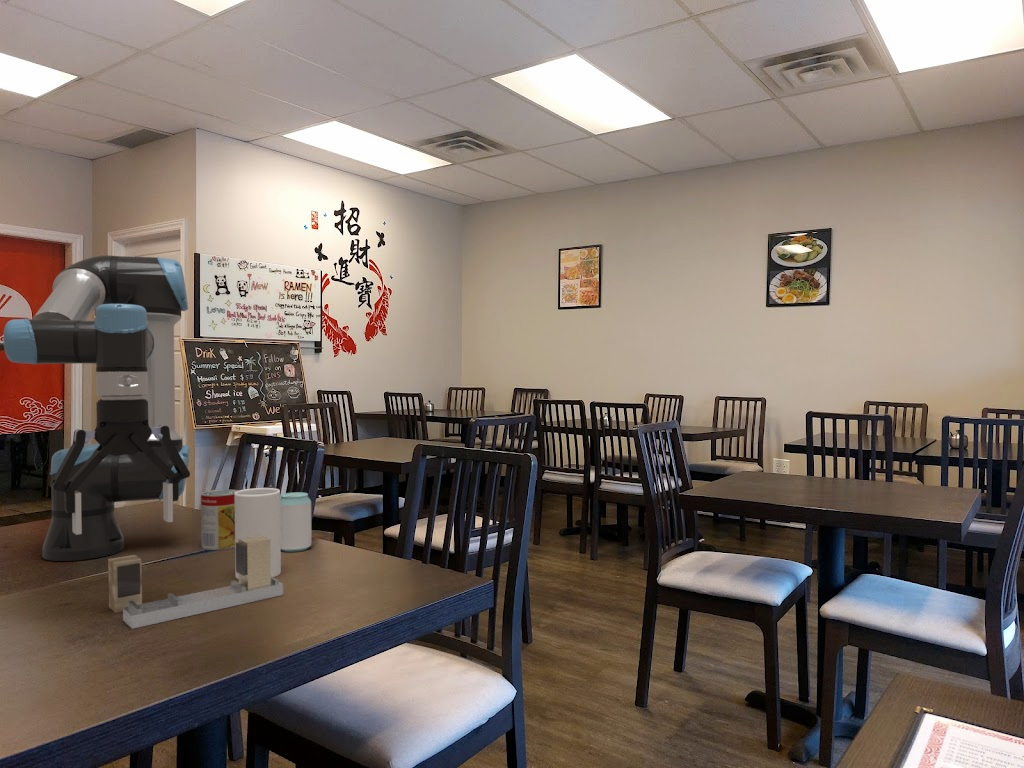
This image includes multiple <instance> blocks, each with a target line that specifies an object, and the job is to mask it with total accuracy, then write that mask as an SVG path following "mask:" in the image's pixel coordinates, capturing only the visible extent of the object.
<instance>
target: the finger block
mask: <svg viewBox="0 0 1024 768" xmlns="http://www.w3.org/2000/svg"><path fill="white" fill-rule="evenodd" d="M107 560H108V561H107V562H108V563H107V564H108V565H107V566H108V607H109V609H110V610H112V611H113V612H114V614H117V613H123V608H124V607H129V603H128V602H129V601H134V602H135V603H136V604H137V605H139V604H143V580H142V579H143V576H142V575H143V571H142V570H143V569H142V566H143V565H142V564H143V563H142V559H141V558H140V557H139V556H137V555H136V554H132V555H126V556H121V557H120V556H119V557H113V558H108V559H107Z"/></svg>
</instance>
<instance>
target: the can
mask: <svg viewBox="0 0 1024 768" xmlns="http://www.w3.org/2000/svg"><path fill="white" fill-rule="evenodd" d="M280 540H281V551H282V552H287V553H295V552H301V551H305V550H308V549H309V548H310V547H311V546H312V542H313V541H312V500H311V499H310V497H309V493H307V492H300V491H299V492H298V491H297V492H286V493H282V494H280Z"/></svg>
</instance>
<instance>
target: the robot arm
mask: <svg viewBox="0 0 1024 768" xmlns="http://www.w3.org/2000/svg"><path fill="white" fill-rule="evenodd" d="M183 271H184V270H183V267H182V265H181V263H180V262H179V261H178V260H176V259H173V258H162V257H159V256H157V257H151V256H150V257H148V256H147V257H146V256H126V255H125V256H124V255H123V256H121V255H119V256H118V255H106V254H105V255H98V256H93V257H89V258H86V259H85V258H84V259H82V260H79V261H77V262H75V263H73V264H70V265H69V266H67V267H65V268H64V269H63V270H62V271H60V272H59V273H58V274H57V276H56V277H55V279H54V280H53V283H52V292H51V293H50V295H49V296H48V297H47V299H46V300H45V302H44V303H43V304H42V305H41V307H40V308H39V309H38V310H37V312H36V313H35V315H34V316H33V317H32V318H31V319H30V318H21V319H19V318H18V319H16V318H15V319H11V320H9V321H7V322H6V323H5V325H4V328H3V337H2V338H3V340H2V341H3V348H4V353H5V355H6V358H7V359H8V360H9V361H10V362H12V363H14V364H15V363H16V364H31V365H42V364H43V365H47V364H50V365H52V364H53V365H54V364H55V365H56V364H59V365H60V364H61V365H63V364H64V365H65V364H66V365H67V364H71V365H72V364H89V365H90V364H92V365H93V364H94V365H95V364H96V368H95V372H96V373H95V386H96V387H95V396H97V397H100V399H98V400H97V402H95V403H96V407H95V409H96V411H95V412H96V427H95V429H94V430H83V429H75V430H74V432H73V438H72V444H71V446H70V447H68V448H63V449H59V450H58V451H56V452H54V454H53V455H52V456H51V461H50V472H49V475H50V484H49V487H50V491H51V492H50V494H51V496H50V497H51V498H50V499H51V522H50V524H49V526H48V530H47V532H46V535H45V539H44V542H43V544H42V547H41V549H42V556H41V557H42V558H43V559H44V560H46V561H51V562H52V561H53V562H71V561H73V562H75V561H82V560H84V561H85V560H91V559H96V558H102V557H106V556H110V555H114V554H117V553H119V552H121V551H123V550H124V549H125V538H124V537H125V536H124V535H123V533H122V530H121V527H120V525H119V522H118V519H117V518H116V514H115V503H121V502H122V503H123V502H139V501H150V500H151V501H153V500H158V501H163V503H162V504H163V507H162V508H163V510H162V511H163V521H165V522H166V523H173V522H174V502H178V500H179V498H180V496H182V494H184V491H185V487H186V481H187V478H190V476H191V472H190V470H189V463H190V462H189V461H190V450H191V449H190V446H189V445H186V444H183V437H182V436H181V435H180V434H179V433H178V432H177V431H176V405H175V404H176V400H175V399H176V397H175V395H176V393H175V389H176V388H175V387H176V386H175V385H176V384H175V383H176V382H175V325H176V324H177V323H178V322H179V321H181V319H182V312H186V311H188V309H189V303H188V297H187V296H188V295H187V289H186V282H185V277H184V272H183ZM94 311H95V320H88V319H89V317H90V315H91V313H92V312H94ZM91 439H94V440H95V441H96V442H97V443H90V440H91ZM88 443H90V444H88Z"/></svg>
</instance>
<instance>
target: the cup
mask: <svg viewBox="0 0 1024 768" xmlns="http://www.w3.org/2000/svg"><path fill="white" fill-rule="evenodd" d="M280 498H281V490H280V489H279V488H275V487H257V488H254V487H252V488H246V489H240V490H238V491H236V492H235V547H234V560H235V563H234V568H235V574H234V575H235V578H236V579H238V580H239V573H237V572H236V543H238V539H241V538H247V537H253V536H260V535H261V536H264V537H266V538H269V539H270V556H271V576H272V577H274V578H276V577H277V576H280V574H281V573H282V569H281V568H282V565H281V564H282V559H281V557H282V556H281V555H282V554H281V551H282V549H281V540H280Z"/></svg>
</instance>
